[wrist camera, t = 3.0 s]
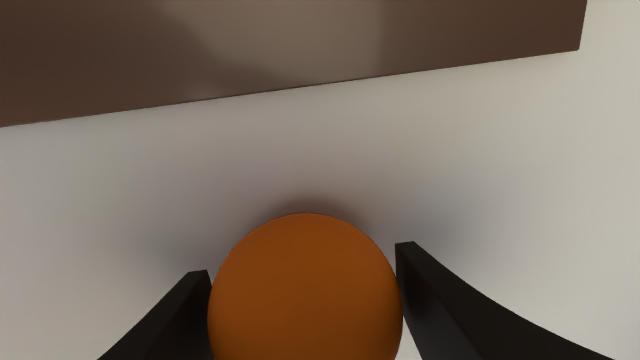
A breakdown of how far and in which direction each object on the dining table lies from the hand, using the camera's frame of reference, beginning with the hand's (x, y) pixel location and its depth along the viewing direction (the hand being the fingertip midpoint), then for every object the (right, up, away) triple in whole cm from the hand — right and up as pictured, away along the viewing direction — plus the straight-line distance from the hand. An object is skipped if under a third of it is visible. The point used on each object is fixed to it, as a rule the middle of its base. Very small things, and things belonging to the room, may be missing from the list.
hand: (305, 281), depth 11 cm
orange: (0, +1, +1) cm, 2 cm away
